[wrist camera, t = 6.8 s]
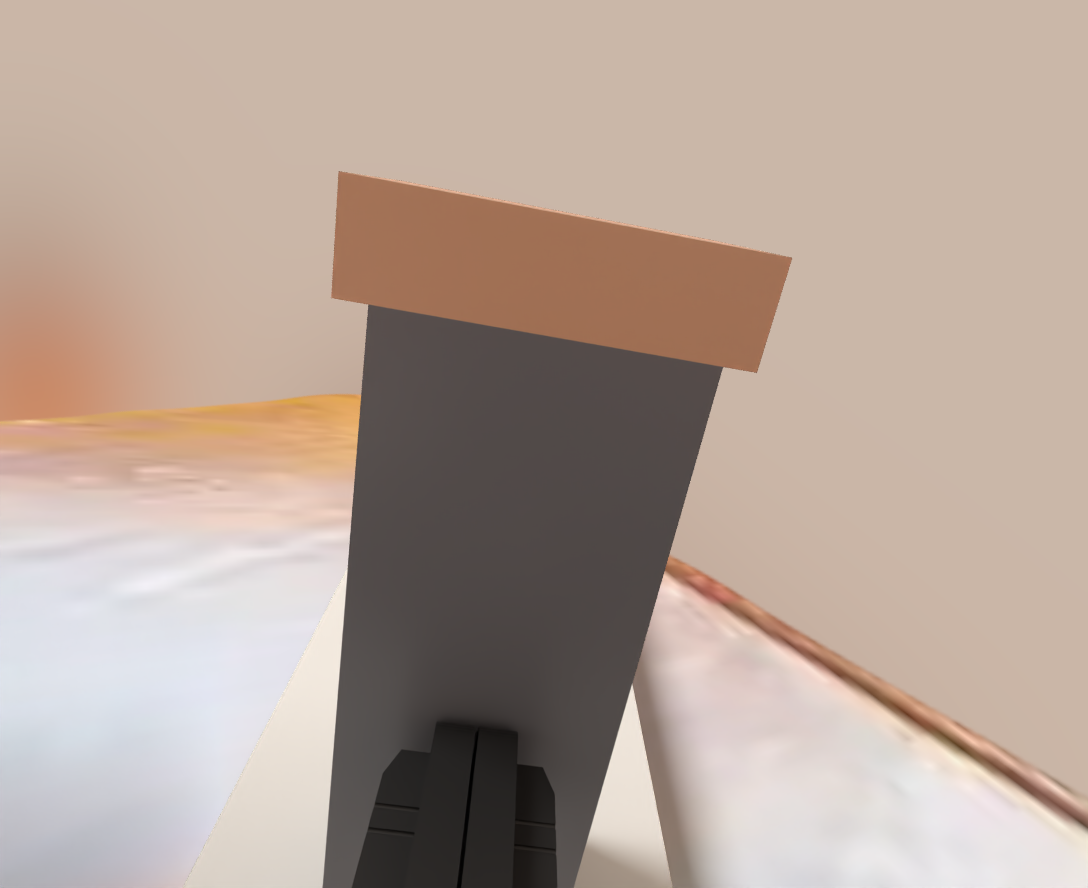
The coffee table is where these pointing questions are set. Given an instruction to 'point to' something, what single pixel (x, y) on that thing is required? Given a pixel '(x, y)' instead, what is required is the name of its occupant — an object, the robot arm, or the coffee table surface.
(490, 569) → the post
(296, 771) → the plate
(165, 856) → the coffee table surface
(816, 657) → the coffee table surface
